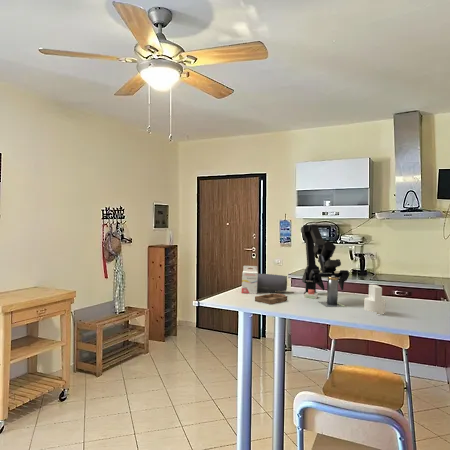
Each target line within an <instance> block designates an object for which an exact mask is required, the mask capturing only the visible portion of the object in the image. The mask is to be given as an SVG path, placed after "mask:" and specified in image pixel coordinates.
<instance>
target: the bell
mask: <svg viewBox="0 0 450 450" xmlns="http://www.w3.org/2000/svg"><path fill="white" fill-rule="evenodd" d="M338 281H339V280H338V277H335V276H328V277H327V288H326V289H327V290H326V291H327V292H326V296H327V297H326V302H327V304H328V305H337V302H338V298H339V297H338V296H339V293H338V292H339V282H338Z"/></svg>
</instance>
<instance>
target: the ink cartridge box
mask: <svg viewBox="0 0 450 450" xmlns="http://www.w3.org/2000/svg"><path fill="white" fill-rule="evenodd" d="M242 270H243V271H242V272H241V274H242V276H241V294H247V295H248V294H249V295H252V294H253V295H256V294H258V291H257V282H258V274H259V272H258V266H257V265H243V266H242Z"/></svg>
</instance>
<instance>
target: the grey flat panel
mask: <svg viewBox="0 0 450 450" xmlns="http://www.w3.org/2000/svg"><path fill="white" fill-rule="evenodd" d="M318 303H319V304H320V305H322V306H323V307H325V308H347V306H346V305H344V304H343V303H340V302H338V301H337V305H328V304H327V301H318Z"/></svg>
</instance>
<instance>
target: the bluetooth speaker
mask: <svg viewBox="0 0 450 450" xmlns="http://www.w3.org/2000/svg"><path fill="white" fill-rule="evenodd" d="M287 279H288V275H280V274H272V273H271V274H270V273H258V282H257V293H259V292H262V293H271V294H276V292H286V291H287V289H288V287H287V286H288V280H287Z"/></svg>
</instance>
